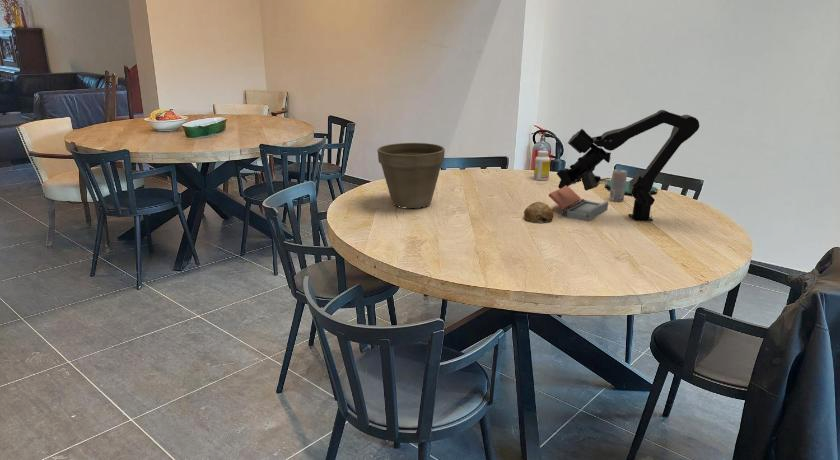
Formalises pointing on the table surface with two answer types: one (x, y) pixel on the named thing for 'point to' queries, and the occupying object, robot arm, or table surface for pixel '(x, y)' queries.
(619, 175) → the energy drink
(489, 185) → the table surface
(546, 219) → the bread roll
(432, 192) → the plant pot
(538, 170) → the supplement bottle
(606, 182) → the cutlery set
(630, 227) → the table surface
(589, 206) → the tray
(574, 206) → the sill
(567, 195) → the panel
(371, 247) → the table surface
